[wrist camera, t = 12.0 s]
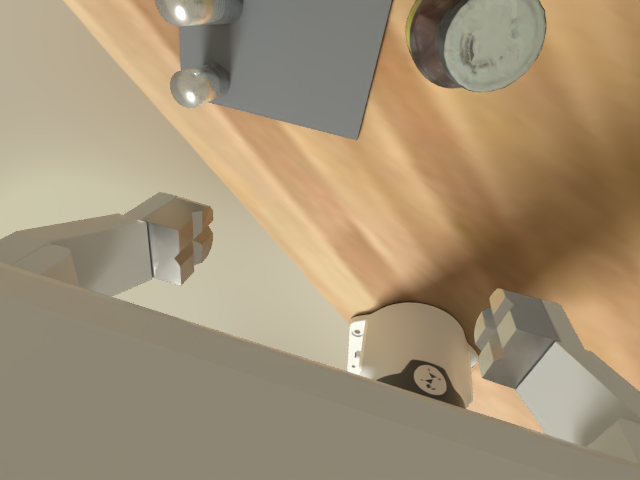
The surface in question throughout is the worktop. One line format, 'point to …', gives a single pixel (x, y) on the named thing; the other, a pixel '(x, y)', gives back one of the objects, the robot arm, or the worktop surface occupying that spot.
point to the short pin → (199, 84)
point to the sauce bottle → (475, 41)
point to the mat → (295, 59)
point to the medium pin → (200, 11)
